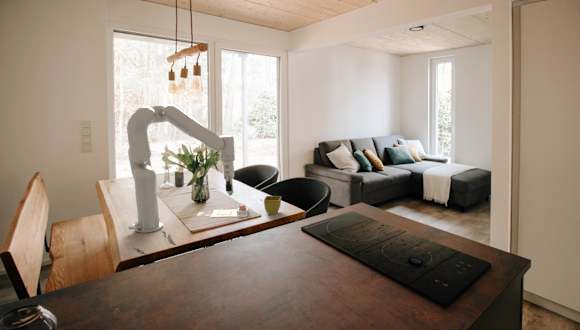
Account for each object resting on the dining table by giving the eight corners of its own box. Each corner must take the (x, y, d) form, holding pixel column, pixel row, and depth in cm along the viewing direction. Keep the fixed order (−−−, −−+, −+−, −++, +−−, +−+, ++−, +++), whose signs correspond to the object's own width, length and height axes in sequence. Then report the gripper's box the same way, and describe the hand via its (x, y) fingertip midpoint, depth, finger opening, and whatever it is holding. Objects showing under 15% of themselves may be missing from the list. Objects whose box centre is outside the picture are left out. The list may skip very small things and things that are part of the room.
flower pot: (281, 211, 183) (281, 196, 181) (279, 216, 174) (279, 200, 173) (266, 210, 184) (266, 195, 182) (264, 215, 175) (263, 200, 173)
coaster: (196, 217, 173) (196, 216, 173) (199, 212, 180) (199, 212, 180) (209, 216, 173) (209, 215, 173) (211, 212, 180) (211, 211, 180)
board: (210, 218, 171) (209, 213, 171) (214, 211, 183) (214, 206, 182) (247, 217, 172) (246, 212, 172) (248, 210, 184) (248, 205, 183)
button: (239, 211, 176) (238, 206, 175) (239, 209, 179) (239, 204, 179) (245, 211, 176) (245, 206, 175) (245, 209, 179) (245, 204, 179)
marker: (231, 196, 175) (228, 176, 173) (226, 195, 176) (223, 176, 174) (235, 194, 178) (232, 175, 176) (230, 193, 179) (228, 175, 177)
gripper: (233, 160, 165) (234, 193, 169) (235, 155, 182) (237, 186, 185) (218, 160, 165) (220, 194, 168) (222, 155, 181) (224, 186, 184)
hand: (229, 189), depth 176 cm, fingers closed on marker, 3 cm apart
